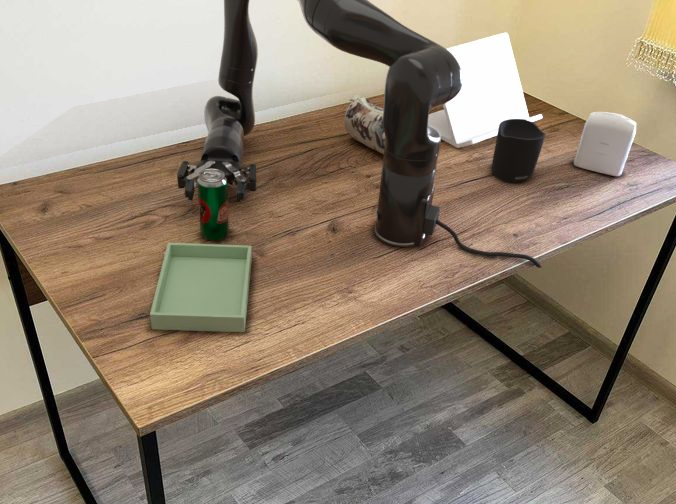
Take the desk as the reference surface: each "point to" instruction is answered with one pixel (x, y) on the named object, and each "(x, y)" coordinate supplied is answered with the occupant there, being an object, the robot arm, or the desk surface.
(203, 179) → the soda can
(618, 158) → the photo printer
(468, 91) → the tablet stand
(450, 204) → the desk surface
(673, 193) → the desk surface
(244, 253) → the tray
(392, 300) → the desk surface
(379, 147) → the pencil case
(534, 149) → the pen holder
